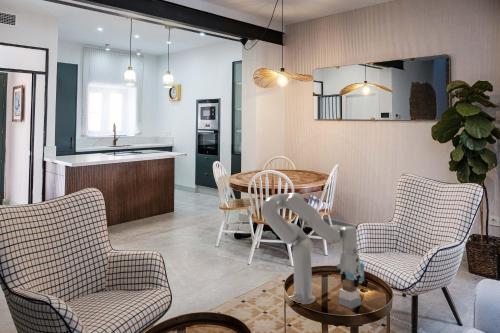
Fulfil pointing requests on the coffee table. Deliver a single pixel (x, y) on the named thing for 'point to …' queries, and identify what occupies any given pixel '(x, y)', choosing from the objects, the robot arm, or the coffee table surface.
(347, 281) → the walnut cube
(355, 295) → the tower top
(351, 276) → the data package
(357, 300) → the tower base
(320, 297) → the coffee table surface
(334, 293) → the coffee table surface
